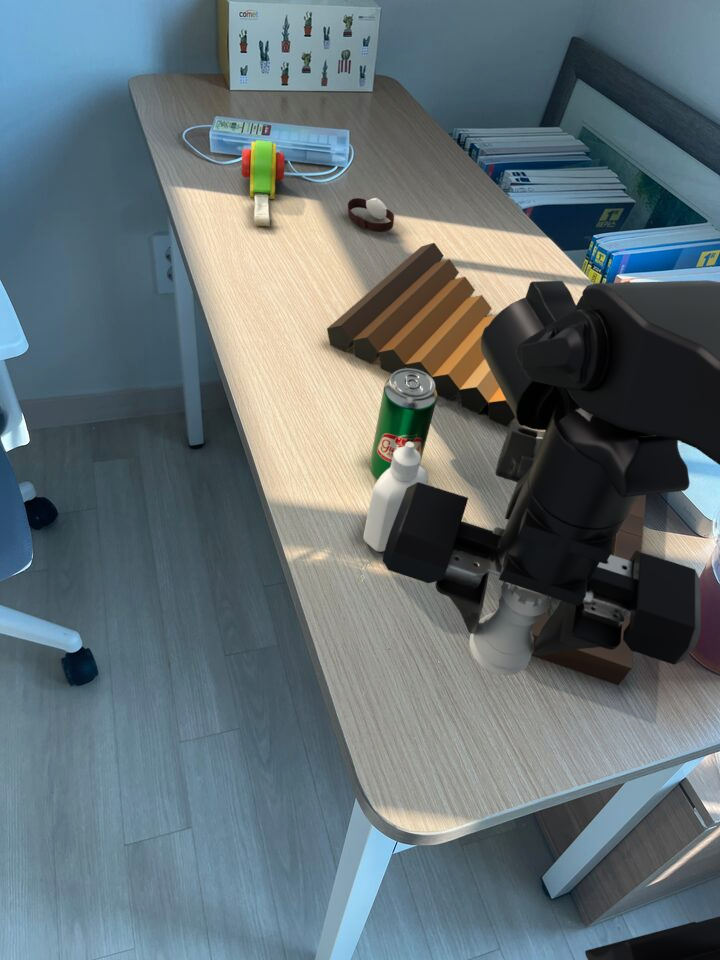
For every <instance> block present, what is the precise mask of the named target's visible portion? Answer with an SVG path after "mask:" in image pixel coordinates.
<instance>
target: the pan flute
mask: <svg viewBox="0 0 720 960" xmlns="http://www.w3.org/2000/svg"><path fill="white" fill-rule="evenodd" d="M443 258H444V254H443V253H442V251H441V249H440V248H439V247H438V246H437V244H436V243H435V242H432V243H428V244H424V245H421V246H420V247H419V248H418V249H416V251H414V252H413V253H412V254H411V255H410V256H408V257H407V258H406V259H405V260H404V261H402V263H401V264H399V265H398V266H397V267H396V268H394V270H392V271H391V272H390V273H389V274H388V275H387V276H386V277H385V278H383V279H382V280H381V281H380V282H379V283H378V284H376V285H375V286H374V287H373V288H371V290H369V291H368V292H367V293H366V294H365V295H364V296H362V297H361V298H360V299H359V300H358V301H357V302H356V303H355V304H354V305H352V306H351V307H350V308H349V309H348V310H347V311H345V312H344V313H343V314H342V315H341V316H339V318H337V319H336V320H334V322H333V323H332V324H331V325H329V326H328V327H327V328H326V331H327V337H328V342H329V346H331V347H333V348H335V349H338V350H339V351H342V352H344V353H346V352H348V351H349V350H350V349H351V348H352V347H353V352H354V357H355V358H356V359H359V360H361V361H363V362H366V363H368V364H370V365H372V364H373V363H374V362H375V361H376V360H377V359H379V365H380V366H379V367H380V369H381V370H383V371H385V372H387V373H390V375H392V374H393V373H394V372H395V371H397V370H400V369H406V368H410V369H417V370H420V371H423V372H425V373H426V374H428V375H429V376H430V377H431V378H432V379H433V380H434V382H435V389H436V391H437V396H439V397H441V398H443V399H445V400H448V401H450V402H451V401H452V400H453V399H454V398H455V396H456V395H457V394H458V393H459V397H460V398H459V399H460V406H461V407H462V408H465V409H467V410H469V411H472V412H474V413H476V414H479V413H481V412H482V410H484V408H485V407H486V405H487V406H488V409H487V410H488V419H489V420H490V421H493V422H494V423H498V424H499V425H502V426H504V427H506V428H507V427H508V426H510V425H511V424H512V422H513V421H515V419H516V417H515V415H514V413H513V411H512V409H511V408H510V406H509V404H508V402H507V400H506V398H505V396H504V394H503V392H502V390H501V389H500V387H499V385H498V383H497V381H496V379H495V377H494V375H493V373H492V371H491V370H490V368H489V366H488V364H487V362H486V360H485V358H484V356H483V354H482V350H481V337H482V334H483V331H484V329H485V327H486V326H488V325H489V324H490V323H491V321H492V320H493V319H494V318H495V317H496V316H497V315H498V314H494V315H489V314H490V312H491V311H492V309H493V308H492V307H491V305H490V304H489V302H488V301H487V300H486V299H485V297H484V296H483V294H480V295H476V296H472V295H473V294H474V292H475V291H476V289H475V288H474V286H473V285H472V283H470V281H469V280H468V279H467V277H466V276H462V277H458V275H459V274H460V272H459V270H458V269H457V268H456V266H455V265H454V263H453V261H451V259H449V258H448V259H445V260H443ZM457 277H458V278H457Z"/></svg>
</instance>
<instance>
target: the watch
mask: <svg viewBox="0 0 720 960" xmlns="http://www.w3.org/2000/svg"><path fill="white" fill-rule="evenodd" d="M357 208H359V209H365V210H367V211H368V213H369V214H370V215H371V216H372V217H374V218H375V219H378V220H383V219H387V220H389V221H387V222H373V221H370V220H368V219H365V218H362V217H361V216H360V215H358V214H357V215H356V214H355V213H354V212H353V211H352V210H353V209H357ZM347 213H348V214H347V215H348V218H349V220H350V221H351V222H352V223H354V224H355V225H356V226H357V227H359V228H361V229H363V230H368V231H370V232H373V233H374V232H375V233H384V232H389V231H391V230H392V229H393V227H394V223H395V215H394V212H392V211H391V210H389V209H388V208H387V206H386V204H385V203H384V202H383V201H382V200H380V199H379V198H378V197H374V198H370V199H369V200H367V199H365V198H361V197H355V198H352V199H350V200H349V201H348V202H347Z"/></svg>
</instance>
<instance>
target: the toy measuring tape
mask: <svg viewBox="0 0 720 960" xmlns="http://www.w3.org/2000/svg"><path fill="white" fill-rule="evenodd" d="M250 144H251V148H244V149H242V151H241V152H242V153H241V176H242V177H243V178H249V197H250V198H254V210H253V212H254V213H253V216H254V217H253V218H254V225H255V226H257V227H270V222H271V221H270V212H269V211H270V210H269V208H270V207H269V206H270V205H269V200H270V199H271V200H274V199H275V198H276V197H275V196H276V195H275V194H276V181H279V182H280V181H283V180H284V178H285V162H286V160H285V154H284V153H283V152H280V151H277V144H276V143H275V142H273V141H272V140H271V141H270V140H262V139H261V140H260V139H255V141H251V143H250Z"/></svg>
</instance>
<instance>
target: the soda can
mask: <svg viewBox="0 0 720 960" xmlns="http://www.w3.org/2000/svg"><path fill="white" fill-rule="evenodd" d="M437 400H438V395H437V391H436V389H435V382H434V380H433V379H432V378H431V377H430V376H429V375H428V374H426V373H425V372H423V371H420V370H417V369H410V368H406V369H405V368H404V369H400V370H397V371H395V372H394V373H393V374H390V377H389V379H387V381H385V383H384V385H383V391H382V396H381V402H380V407H379V412H378V417H377V423H376V428H375V433H374V439H373V444H372V449H371V455H370V459H369V471H370V473H371V475H372V476H373V477H374V479H376V481H378V479H379V478H380V476H381V475H382V474H383V473H384V472H385V471H386V470H387V469H389V468H390V467H391V462H392V458H393V453H394V451H395V450H396V449H398V448H400V447H404V446H405V444H406V443H407V442H412V443H413V444H414V449H415V450H417V451H418V452H419V454H420V456H421V461H420V464H421V462H422V458H423V455H424V451H425V447H426V443H427V439H428V435H429V431H430V427H431V423H432V419H433V416H434V412H435V408H436V404H437Z"/></svg>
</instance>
